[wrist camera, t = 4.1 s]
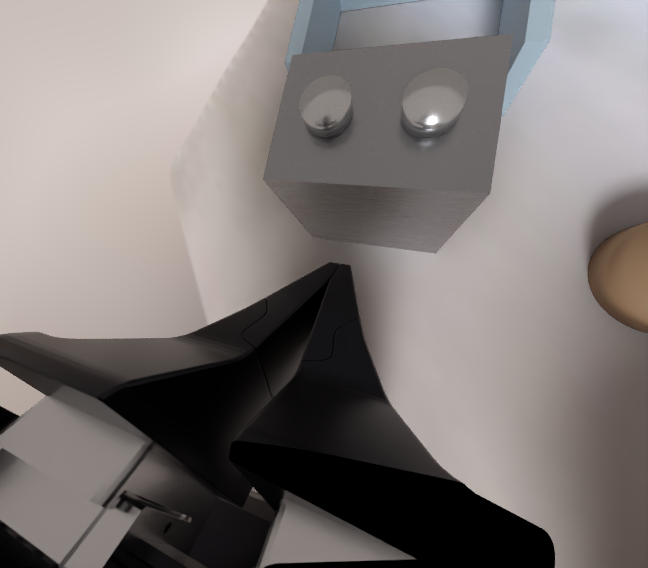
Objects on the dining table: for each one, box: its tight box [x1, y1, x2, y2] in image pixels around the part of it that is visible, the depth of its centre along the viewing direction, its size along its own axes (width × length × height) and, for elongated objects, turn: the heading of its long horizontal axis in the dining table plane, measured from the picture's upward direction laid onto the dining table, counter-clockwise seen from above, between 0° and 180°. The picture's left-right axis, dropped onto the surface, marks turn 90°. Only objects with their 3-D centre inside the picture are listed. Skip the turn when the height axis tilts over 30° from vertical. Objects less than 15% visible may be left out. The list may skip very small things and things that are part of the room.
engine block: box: [263, 34, 513, 253], centre depth 15 cm, size 13×10×10 cm
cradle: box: [285, 0, 555, 115], centre depth 18 cm, size 13×16×5 cm
